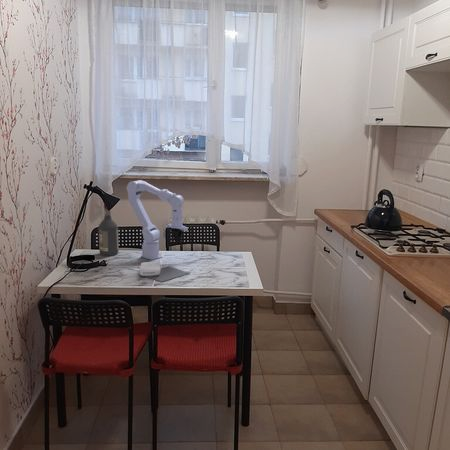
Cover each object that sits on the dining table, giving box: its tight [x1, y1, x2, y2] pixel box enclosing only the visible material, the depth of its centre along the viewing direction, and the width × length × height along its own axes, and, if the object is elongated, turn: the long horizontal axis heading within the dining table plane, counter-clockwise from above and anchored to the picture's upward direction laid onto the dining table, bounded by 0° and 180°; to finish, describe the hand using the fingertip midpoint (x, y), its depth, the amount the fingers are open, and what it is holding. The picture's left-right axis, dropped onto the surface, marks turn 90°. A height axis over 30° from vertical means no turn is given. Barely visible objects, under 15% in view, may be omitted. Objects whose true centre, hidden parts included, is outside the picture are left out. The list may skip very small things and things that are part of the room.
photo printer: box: [139, 261, 162, 277], centre depth 219 cm, size 10×4×12 cm
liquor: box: [98, 203, 119, 257], centre depth 250 cm, size 9×9×30 cm
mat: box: [145, 265, 190, 283], centre depth 219 cm, size 16×18×1 cm
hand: (177, 242), depth 241 cm, fingers closed
